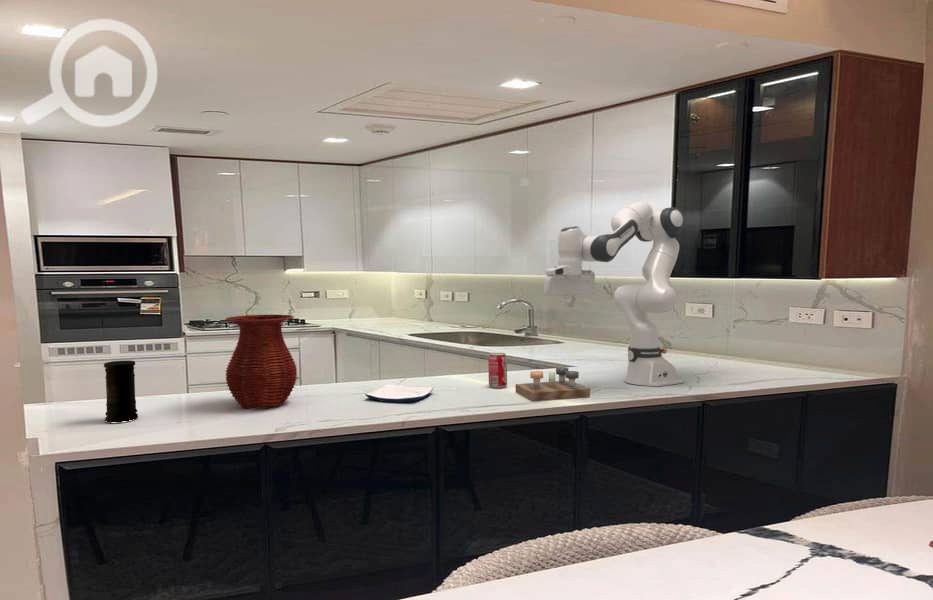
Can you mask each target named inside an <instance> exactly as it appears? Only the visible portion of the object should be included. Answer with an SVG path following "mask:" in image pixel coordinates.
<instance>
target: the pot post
mask: <svg viewBox="0 0 933 600" xmlns="http://www.w3.org/2000/svg"><path fill="white" fill-rule="evenodd" d="M555 381H556V371H555V372H554V371H551V372H550V371H549V372H548V382H549V387H555Z"/></svg>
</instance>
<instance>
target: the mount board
mask: <svg viewBox="0 0 933 600" xmlns="http://www.w3.org/2000/svg"><path fill="white" fill-rule="evenodd" d="M515 393H516V394H517V395H520V396H522V397H523V396H524V397H523V398H525V399H527V400H529V401H531V402H543V401H545V402H546V401H556V400H559V401H560V400H570V399H571V400H572V399H581V398H583V399H584V398H590V397H591V388H589V387H587V386H584V385H582V384H579V383H577V382H575V386H574V387H571V386H569V380H565V382H559V380H557V381H556V380H555V387H549V381H544V382H542V381H540V386H539V387H535V386H533V382H529V383H527V382H525V383H515Z"/></svg>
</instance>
